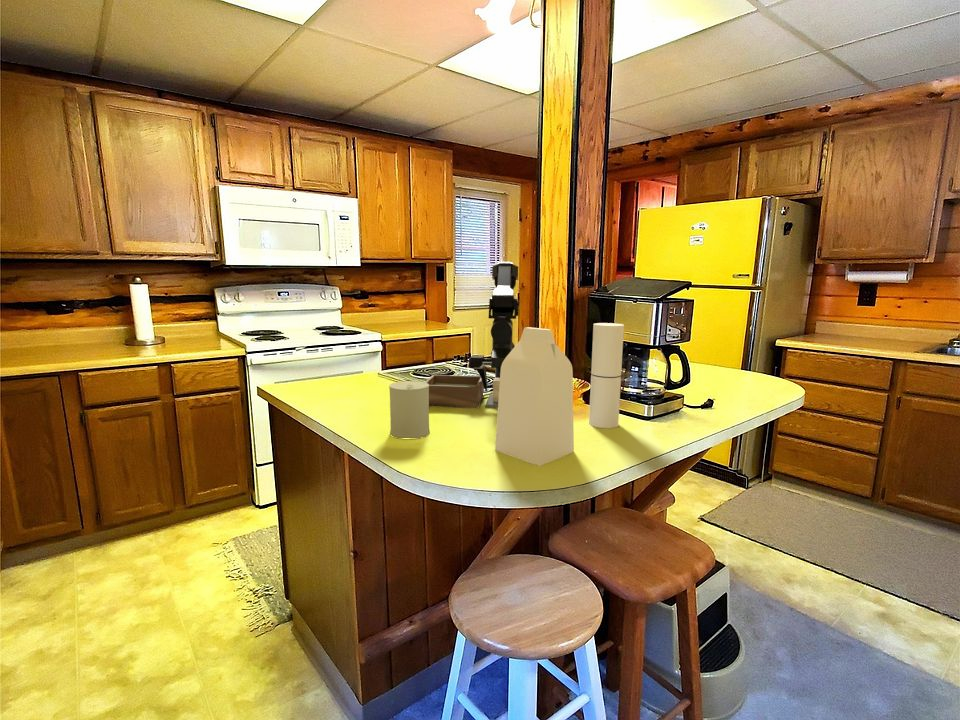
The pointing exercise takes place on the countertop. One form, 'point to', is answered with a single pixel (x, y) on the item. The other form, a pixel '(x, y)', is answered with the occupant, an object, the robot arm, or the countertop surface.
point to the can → (409, 409)
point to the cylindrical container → (606, 374)
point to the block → (496, 389)
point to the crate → (455, 391)
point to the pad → (491, 402)
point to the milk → (535, 400)
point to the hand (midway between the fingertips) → (501, 391)
